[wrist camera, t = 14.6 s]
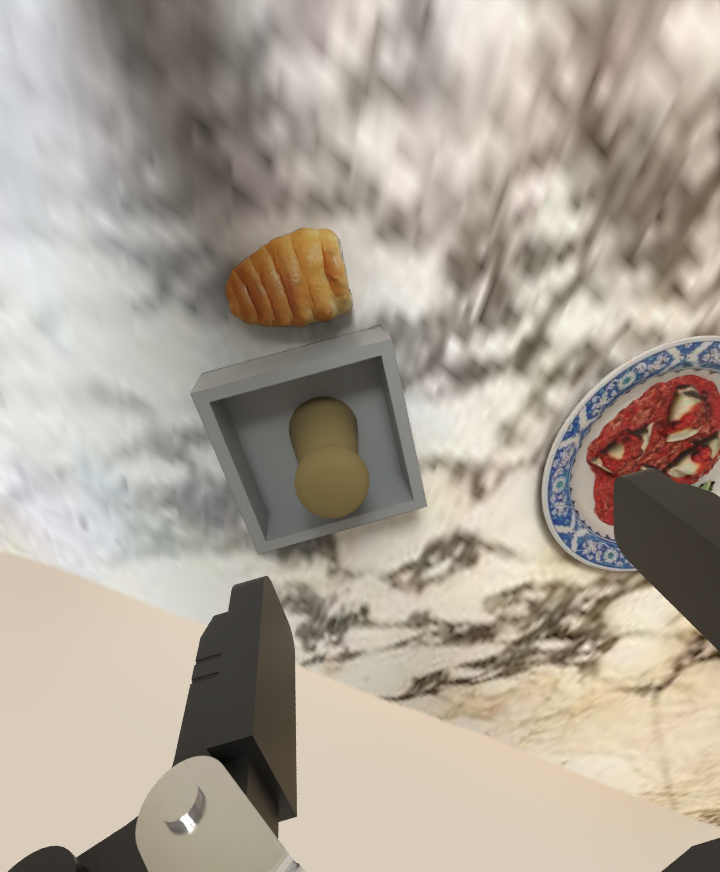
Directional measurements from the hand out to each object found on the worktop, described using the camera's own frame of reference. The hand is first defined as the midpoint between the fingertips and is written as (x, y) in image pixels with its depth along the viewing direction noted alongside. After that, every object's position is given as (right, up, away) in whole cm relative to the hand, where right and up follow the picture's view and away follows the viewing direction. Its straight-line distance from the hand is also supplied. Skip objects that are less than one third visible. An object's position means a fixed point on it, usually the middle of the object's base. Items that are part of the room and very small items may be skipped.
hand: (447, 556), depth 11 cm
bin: (-6, +3, +31) cm, 32 cm away
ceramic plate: (+28, +1, +38) cm, 47 cm away
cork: (-5, +3, +31) cm, 31 cm away
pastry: (-7, +15, +26) cm, 31 cm away
